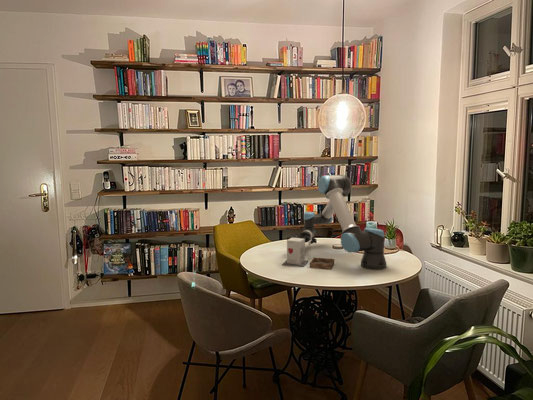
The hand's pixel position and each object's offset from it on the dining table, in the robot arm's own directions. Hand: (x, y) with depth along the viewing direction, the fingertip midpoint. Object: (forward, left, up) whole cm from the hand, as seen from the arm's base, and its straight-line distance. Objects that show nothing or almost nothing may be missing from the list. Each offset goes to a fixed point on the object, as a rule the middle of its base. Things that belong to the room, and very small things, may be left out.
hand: (298, 242), depth 244 cm
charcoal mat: (0, +9, -11) cm, 14 cm away
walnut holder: (-17, +9, -11) cm, 22 cm away
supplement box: (0, +9, -11) cm, 14 cm away
